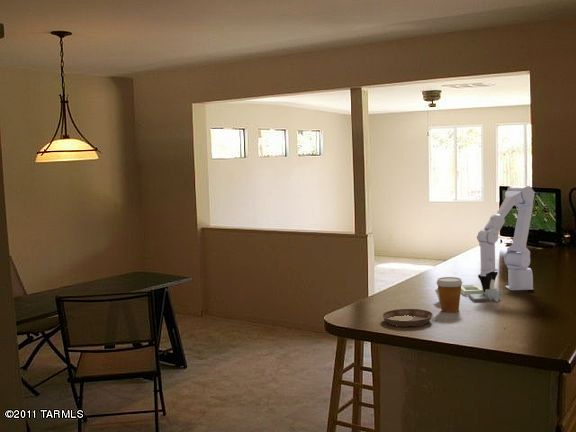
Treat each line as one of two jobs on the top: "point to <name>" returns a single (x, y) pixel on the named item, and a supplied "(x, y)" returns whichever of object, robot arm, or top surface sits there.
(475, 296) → the phone
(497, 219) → the robot arm
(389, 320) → the plant saucer
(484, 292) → the charger
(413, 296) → the top surface
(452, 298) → the disposable coffee cup
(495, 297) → the cable plug
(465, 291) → the outlet plate
